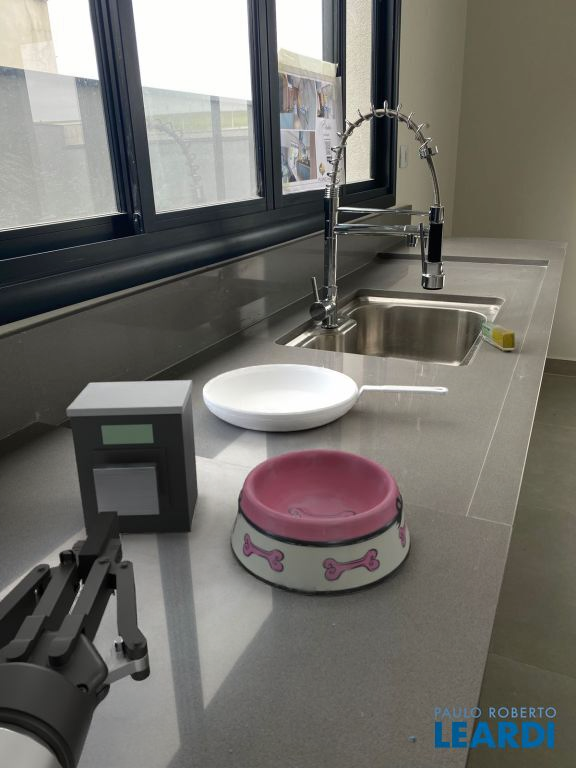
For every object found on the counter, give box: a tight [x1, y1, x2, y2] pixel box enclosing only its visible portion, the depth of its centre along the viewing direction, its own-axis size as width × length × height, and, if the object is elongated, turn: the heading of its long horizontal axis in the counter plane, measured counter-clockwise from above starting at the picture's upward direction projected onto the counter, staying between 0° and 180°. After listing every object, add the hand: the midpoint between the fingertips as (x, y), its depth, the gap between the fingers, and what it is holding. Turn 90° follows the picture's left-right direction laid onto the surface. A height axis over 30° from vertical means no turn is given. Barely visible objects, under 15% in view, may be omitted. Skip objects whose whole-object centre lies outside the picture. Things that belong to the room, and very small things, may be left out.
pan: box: [202, 363, 449, 432], centre depth 97 cm, size 25×39×4 cm, turn 82°
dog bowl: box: [229, 448, 412, 596], centre depth 62 cm, size 18×19×7 cm
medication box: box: [481, 321, 516, 352], centre depth 134 cm, size 12×3×4 cm, turn 5°
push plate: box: [93, 462, 161, 516], centre depth 60 cm, size 1×6×5 cm, turn 92°
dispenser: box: [65, 379, 199, 536], centre depth 66 cm, size 8×11×14 cm
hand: (110, 525), depth 53 cm, fingers closed
